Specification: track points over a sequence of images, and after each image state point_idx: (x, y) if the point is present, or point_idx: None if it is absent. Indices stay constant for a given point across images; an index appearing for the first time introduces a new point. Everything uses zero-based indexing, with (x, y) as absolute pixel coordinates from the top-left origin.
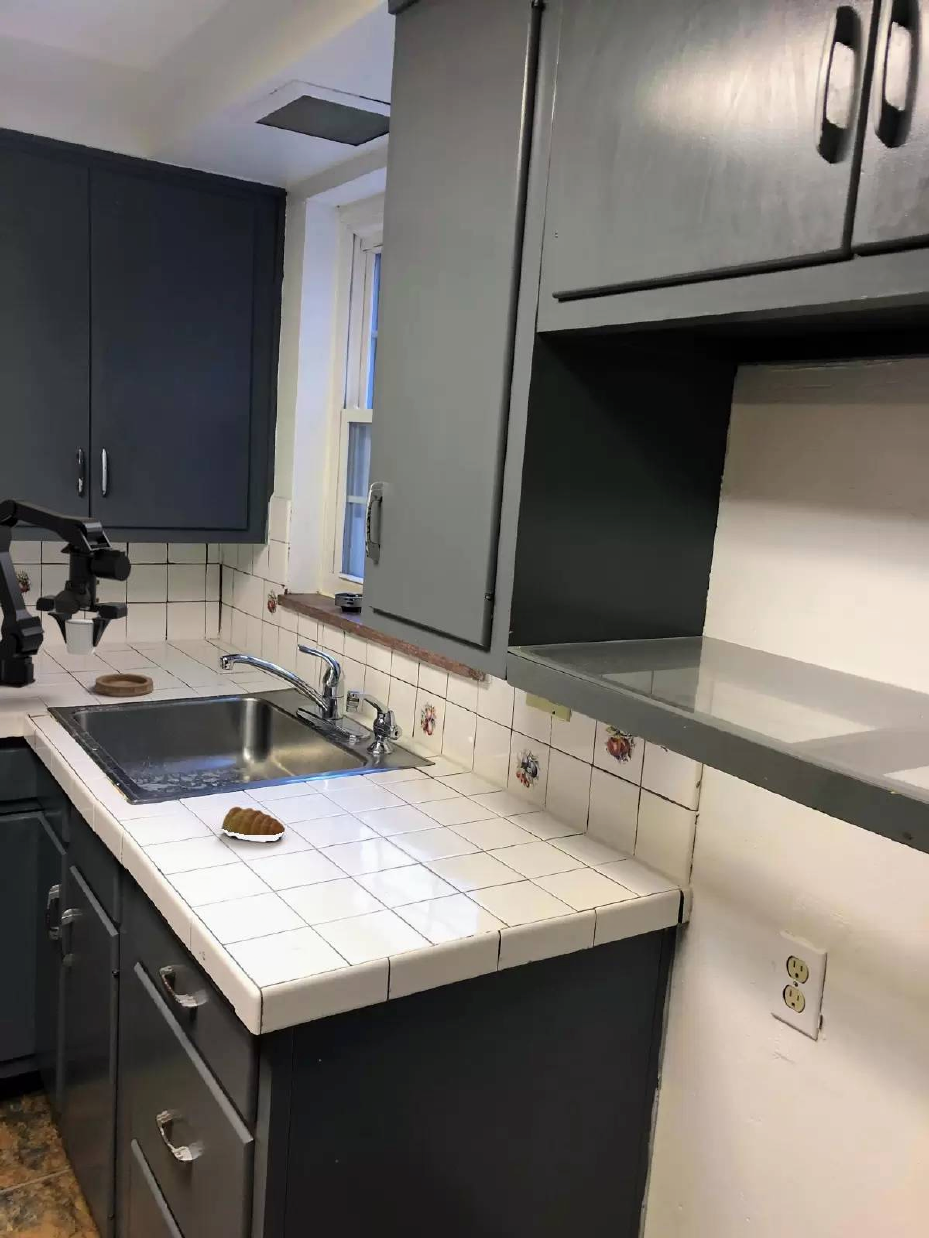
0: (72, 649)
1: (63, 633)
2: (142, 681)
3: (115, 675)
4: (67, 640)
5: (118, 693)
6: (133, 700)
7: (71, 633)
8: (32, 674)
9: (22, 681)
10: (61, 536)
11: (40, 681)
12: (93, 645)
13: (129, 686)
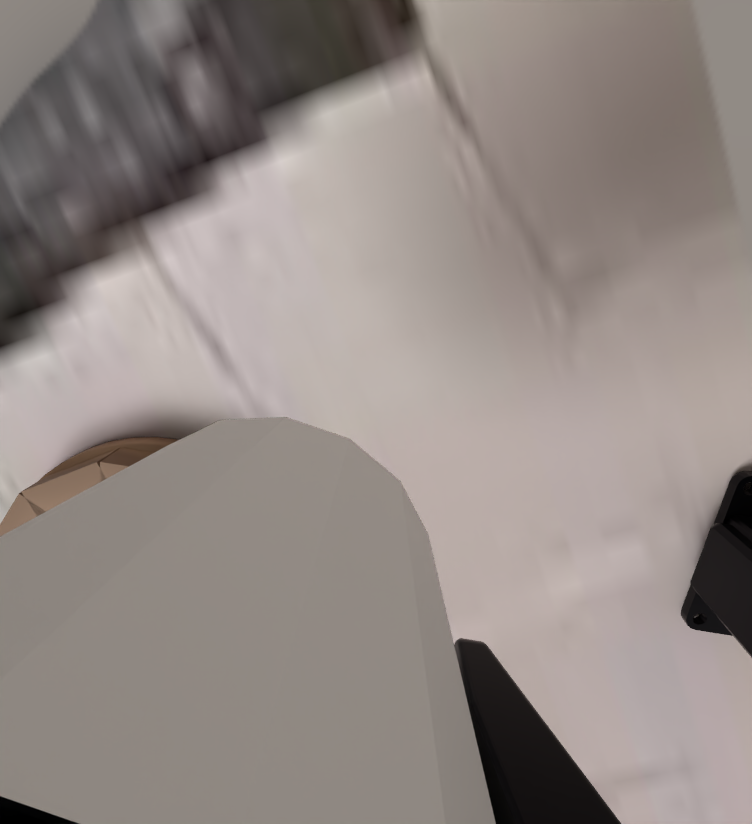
0: (303, 443)
1: (546, 777)
2: None
3: None
4: (398, 564)
5: (121, 443)
6: (24, 386)
7: (225, 580)
8: (717, 599)
9: (749, 521)
10: None
11: (652, 625)
12: None
13: (50, 493)
